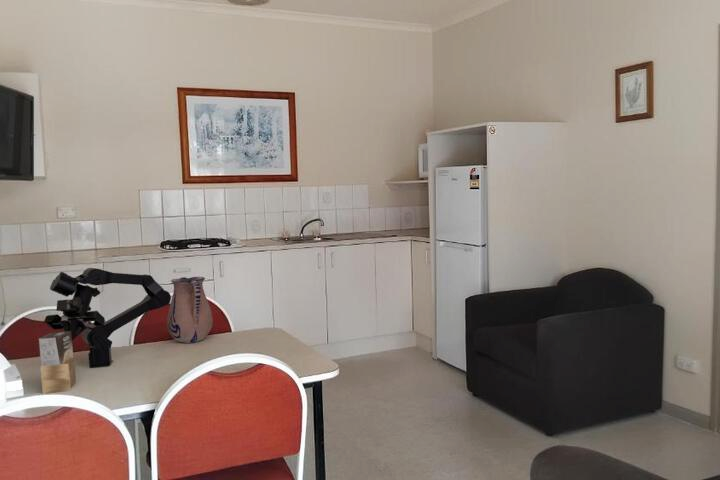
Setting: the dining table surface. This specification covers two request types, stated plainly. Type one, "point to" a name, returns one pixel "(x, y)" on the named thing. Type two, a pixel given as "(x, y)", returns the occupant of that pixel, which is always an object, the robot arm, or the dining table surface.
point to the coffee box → (55, 348)
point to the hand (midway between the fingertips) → (66, 343)
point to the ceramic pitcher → (189, 311)
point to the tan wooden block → (58, 377)
